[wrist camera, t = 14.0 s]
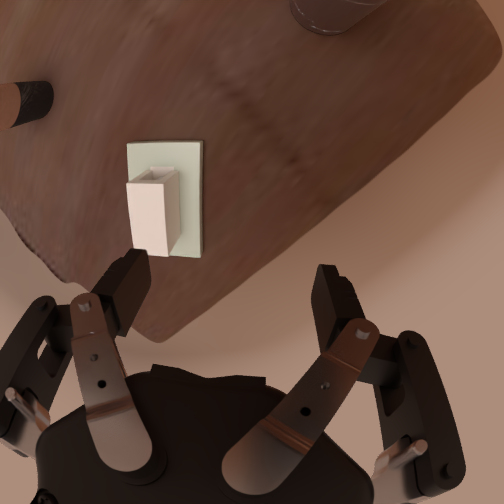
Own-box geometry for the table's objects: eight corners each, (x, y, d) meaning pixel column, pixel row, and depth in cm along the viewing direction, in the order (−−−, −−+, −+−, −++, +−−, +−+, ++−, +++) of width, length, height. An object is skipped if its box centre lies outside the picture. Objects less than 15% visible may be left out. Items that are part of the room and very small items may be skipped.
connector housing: (146, 170, 36) (126, 183, 30) (178, 170, 36) (163, 183, 30) (150, 232, 41) (134, 253, 35) (180, 234, 41) (168, 256, 35)
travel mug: (30, 81, 28) (-53, 97, 11) (57, 77, 29) (-34, 89, 12) (26, 120, 32) (-55, 149, 15) (52, 119, 33) (-37, 148, 15)
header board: (132, 141, 36) (117, 147, 31) (203, 140, 36) (194, 145, 31) (141, 246, 45) (130, 261, 40) (202, 251, 45) (196, 268, 41)
